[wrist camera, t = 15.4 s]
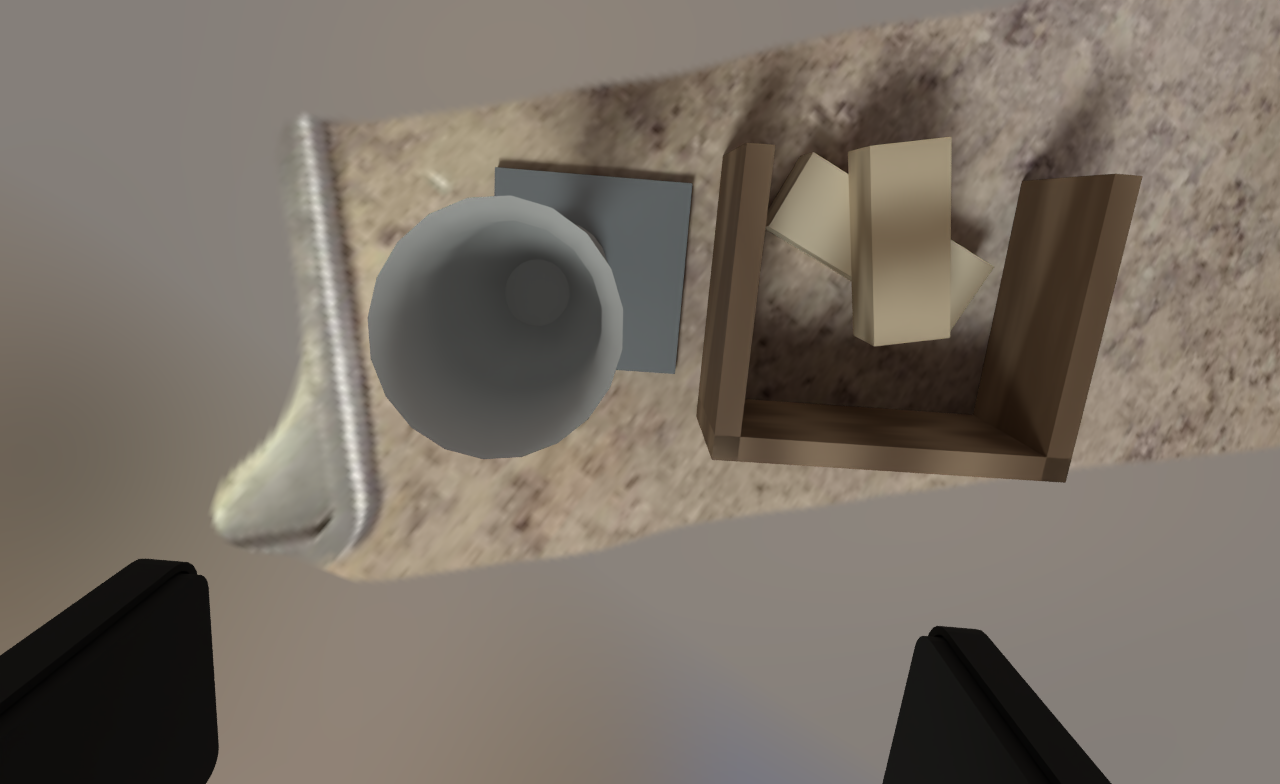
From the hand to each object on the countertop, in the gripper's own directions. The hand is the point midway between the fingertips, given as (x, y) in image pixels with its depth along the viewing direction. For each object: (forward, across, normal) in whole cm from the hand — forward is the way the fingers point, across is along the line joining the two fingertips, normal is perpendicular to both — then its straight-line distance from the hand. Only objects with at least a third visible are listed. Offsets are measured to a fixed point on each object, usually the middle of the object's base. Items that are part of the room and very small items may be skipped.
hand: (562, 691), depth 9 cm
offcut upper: (+27, -13, -6) cm, 31 cm away
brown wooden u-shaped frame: (+29, -13, -3) cm, 32 cm away
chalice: (+29, +3, -3) cm, 29 cm away
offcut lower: (+30, -13, -6) cm, 33 cm away
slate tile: (+29, +2, -3) cm, 29 cm away
